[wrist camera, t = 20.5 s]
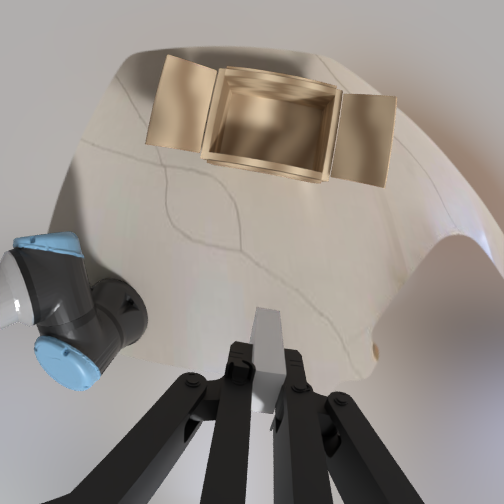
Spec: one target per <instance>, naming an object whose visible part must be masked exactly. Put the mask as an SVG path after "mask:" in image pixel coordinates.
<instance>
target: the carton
mask: <svg viewBox="0 0 504 504" xmlns="http://www.w3.org/2000/svg"><path fill="white" fill-rule="evenodd" d="M336 88H337V86H335V85H331V84H327V83H323V82H319V81H315V80H311V79H307V78H302V77H297V76H292V75H287V74H282V73H276V72H270V71H264V70H257V69H250V68H241V67H232V66H227V67H226V69H222V68H219V72H218V76H217V80H216V84H215V89H214V93H213V97H212V102H211V106H210V111H209V116H208V121H207V126H206V131H205V136H204V141H203V146H202V152H201V157H200V158H202V159H204V160H207V163H210V164H213V165H218V166H224V167H231V168H237V169H243V170H249V171H255V172H260V173H266V174H271V175H276V176H281V177H286V178H291V179H296V180H301V181H306V182H310V183H321V182H323V181H328V180H329V175H330V169H331V164H332V158H333V152H334V147H335V141H336V134H337V128H338V122H339V115H340V108H341V101H342V94H343V91H342V90H338V89H336Z"/></svg>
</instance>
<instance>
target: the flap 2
mask: <svg viewBox="0 0 504 504" xmlns="http://www.w3.org/2000/svg"><path fill="white" fill-rule="evenodd" d="M396 105H397V97H395V96H383V95H366V94H344V96H343V103H342V110H341V117H340V124H339V130H338V136H337V143H336V149H335V154H334V160H333V166H332V171H331V177H334V178H339V179H344V180H349V181H354V182H359V183H364V184H368V185H373V186H377V187H382V188H385V186H386V180H387V175H388V169H389V162H390V156H391V149H392V142H393V134H394V126H395V116H396Z"/></svg>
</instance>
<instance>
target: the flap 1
mask: <svg viewBox="0 0 504 504" xmlns="http://www.w3.org/2000/svg"><path fill="white" fill-rule="evenodd" d="M216 74H217V71H216V70H214V69H211V68H208V67H205V66H202V65H199V64H197V63H194V62H191V61H187V60H184V59H181V58H178V57H175V56H171V55H167V56H166V59H165V62H164V66H163V69H162V73H161V76H160V80H159V84H158V88H157V92H156V96H155V100H154V104H153V108H152V113H151V117H150V122H149V127H148V132H147V137H146V143H145V144H147V145H154V146H161V147H167V148H174V149H180V150H186V151H192V152H197V153H200V150H201V144H202V139H203V134H204V129H205V124H206V119H207V114H208V109H209V105H210V100H211V96H212V91H213V87H214V83H215V79H216Z"/></svg>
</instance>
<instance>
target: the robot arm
mask: <svg viewBox="0 0 504 504" xmlns="http://www.w3.org/2000/svg"><path fill="white" fill-rule="evenodd" d="M13 247H14V249H12V250H9V251H6V252H5V253H4V255H3V257H2V259H1V262H0V330H2V329H3V328H6V327H8V326H10V325H12V324H14V323H16V322H20V323H23V324H25V325H27V326H29V327H30V326H33V325H35V324H37V327H38V330H39V333H40V337H38V338H37V340H36V342H35V347H34V351H35V355H36V358H37V360H38V361H39V363H40V365H41V366H42V368H43V369H44V370H45V371H46V372H47V374H48V375H50V376H51V377H52V378H53V379H54V380H56V381H57V382H58V383H59V384H61V385H63V386H65V387H66V388H69V389H72V390H75V391H84V390H87V389H89V388H90V387H91V386H92V385H93V384H94V383H95V382H96V381H97V380H99V378H100V376H101V375H102V374H103V372H104V371H105V369H106V368H107V367H108V365H109V364H110V363H111V361H112V360H113V359H114V357H115V356H116V355H117V353H118V352H119V351H120V349H122V348H124V347H126V346H128V345H131V344H133V343H135V342H136V341H138V340H139V339H140V338H141V336H142V335H143V334H144V332H145V330H146V328H147V323H148V316H147V311H146V307H145V305H144V303H143V301H142V299H141V298H140V296H139V295H138V294H137V292H136V291H135V290H134V289H133V288H131V287H130V286H129V285H127V284H126V283H124V282H122V281H119V280H116V279H104V280H101V281H99V282H98V283H96V284H95V285H94V286H92V287H91V288H90V284H89V280H88V276H87V272H86V268H85V263H84V255H83V254H82V251H81V247H80V243H79V239H78V237H77V235H76V234H75V233H73V232H70V231H67V232H58V233H50V234H42V235H35V236H28V237H20V238H15V239H14V244H13ZM274 410H275V417H274V420H273V422H272V425H271V428H270V431H272V429H273V448H274V449H273V452H274V455H273V457H274V504H333V499H332V493H331V487H330V481H329V474H328V471H329V473H330V475H331V477H332V479H333V482H334V483H335V486H336V488H337V490H338V492H339V494H340V496H341V498H342V500H343V502H344V504H424V502H423V501H422V499H421V498H420V496H419V495H418V493H417V492H416V490H415V489H414V487H413V486H412V485H411V483H410V482H409V480H408V479H407V477H406V476H405V474H404V473H403V471H402V470H401V468H400V467H399V466H398V464H397V463H396V461H395V460H394V458H393V457H392V455H391V454H390V453H389V451H388V449H387V448H386V447H385V445H384V444H383V442H382V441H381V439H380V438H379V436H378V435H377V433H376V432H375V431H374V429H373V428H372V426H371V425H370V423H369V422H368V420H367V419H366V418H365V416H364V415H363V413H362V412H361V410H360V409H359V407H358V406H357V404H356V403H355V401H354V400H353V399H352V397H350V395H348V394H346V393H343V392H332V393H331V394H330V395H329V396H328V397H327V396H323V395H320V394H317V393H315V392H313V389H312V387H311V385H309V384H308V383H307V381H306V376H305V371H304V365H303V360H302V356H301V354H300V353H299V352H298V351H297V350H292V349H284V345H283V336H282V327H281V318H280V311H277V310H271V309H265V308H260V307H257V309H256V314H255V318H254V323H253V328H252V333H251V337H250V342H249V344H248V343H243V342H237V341H235V342H234V343H233V344H232V345H231V347H230V352H229V357H228V362H227V364H226V370H225V375H224V376H223V377H222V378H220V379H218V380H212V381H207V380H206V379H205V377H204V376H202V375H200V374H198V373H193V372H191V373H190V372H188V373H184V374H182V375H181V376H179V377H178V378H177V380H176V381H175V382H174V383H173V384H172V385H171V386H170V388H169V389H168V390H167V391H166V392H165V393H164V394H163V395H162V396H161V397H160V399H159V400H158V401H157V402H156V403H155V404H154V405H153V406H152V408H151V409H150V410H149V411H148V412H147V413H146V414H145V415H144V416H143V417H142V418H141V420H140V421H139V422H138V423H137V424H136V425H135V426H134V427H133V428H132V429H131V430H130V431H129V432H128V434H127V435H126V436H125V437H124V438H123V439H122V440H121V441H120V442H119V443H118V444H117V445H116V446H115V447H114V449H113V450H112V451H111V452H110V453H109V454H108V455H107V456H106V457H105V458H104V459H103V460H102V461H101V462H100V463H99V464H98V465H97V466H96V467H95V468H94V469H93V471H91V472H90V473H89V474H88V476H87V477H86V478H85V479H84V480H83V481H82V482H81V483H80V484H79V485H78V486H77V487H76V488H75V489H74V490H73V491H72V492H71V493H69V494H67V495H64V496H62V497H59V498H56V499H53V500H51V501H48V502H45V503H41V504H147V503H148V502H149V500H150V499H151V497H152V496H153V495H154V493H155V492H156V491H157V489H158V488H159V486H160V485H161V484H162V482H163V481H164V479H165V478H166V476H167V475H168V474H169V472H170V471H171V469H172V468H173V466H174V465H175V463H176V462H177V460H178V459H179V457H180V456H181V454H182V453H183V451H184V450H185V448H186V447H187V445H188V444H189V442H190V441H191V439H192V438H193V436H194V435H195V433H196V432H197V430H198V429H199V427H200V426H201V424H202V422H203V421H209V420H216V422H215V427H214V433H213V438H212V443H211V448H210V453H209V458H208V463H207V469H206V474H205V479H204V484H203V489H202V495H201V500H200V504H245V497H246V483H247V468H248V452H249V437H250V420H251V411H254V412H261V413H269V414H273V412H274Z"/></svg>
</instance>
